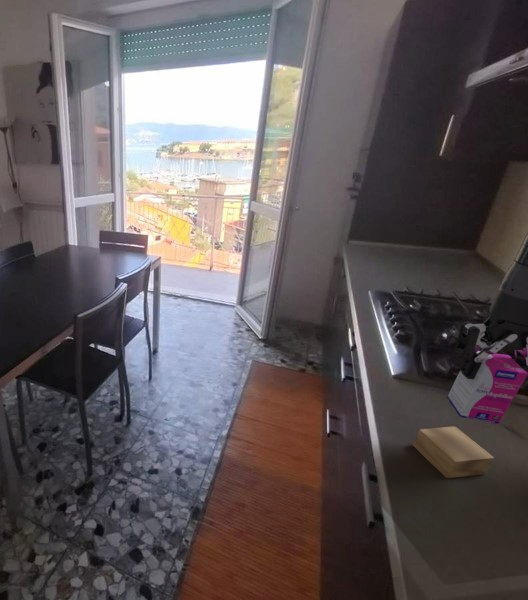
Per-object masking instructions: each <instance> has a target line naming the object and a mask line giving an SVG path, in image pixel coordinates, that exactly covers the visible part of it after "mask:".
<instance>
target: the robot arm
mask: <svg viewBox="0 0 528 600" xmlns="http://www.w3.org/2000/svg"><path fill="white" fill-rule="evenodd" d="M488 310H489V311H488V313H489V316H488V318H487V319H486V320H484V321H483V322H482V323H471V322H470V321H468V320H467V321H464V322H462V323H461V325H460V329H459V333H458V336H457V340H456V344H455V348H454V349H455V351H456V352H458V353H459V354H460V355H461V357H464V359H463V361H462V363H461V365H460V368H459V372H460V371H461V372H462V374H463V375H464V376H465V377H466V378H467V379H474V378H475V376H476V374H477V372H478V370H479V368H480V366H481V364H482V363H481V361H483V360H484V359H485V358H486V357H488V356H489V355H490V354H498V352H499V351H501V350H508V349H509V350H513V351H514V358H512V359H513V360H514V361H515V362H516V363H517V364H518V365H519V366H521V367H522V368H523V369H524V370H525V371H526V372H527V373H528V232H527V233H526V235H525V237H524V238H523V241H522V243H521V245H520V247H519V248H518V252H517V254H516V256H515V258H514V260H513V261H512V263H511V264H510V266H509V267H508V269H507V271H506V272H505V275H504V276H503V278H502V281H501V283H500V284H499V287H498V289H497V291H496V293H495V296H494V298H493V300H492V302H491V304H490V305H489V309H488ZM487 342H488V343H489V344H490V345H488V344H487ZM478 351H480V352H479V353H478V354H477V352H478Z"/></svg>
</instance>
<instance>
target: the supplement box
mask: <svg viewBox="0 0 528 600" xmlns="http://www.w3.org/2000/svg"><path fill="white" fill-rule="evenodd" d="M480 351H481V350H479V351H478V352H477V354H478V353H479V352H480ZM513 359H514V358H512V356H510V355H509V354H503V353H496V354H490V355H489V356H488V357H486V358H485V359H484V360H483V361H481V363H482V364H481V366H480V368H479V370H478V372H477V374H476V376H475V378H474V379H467V378H466V377H465V376H464V375H463V374H462V372H461V371H460V370H459V372H458V374H457V376H456V378H455V379H454V382H453V384H452V387H451V389H450V390H449V393H448V395H447V396H446V399H447V400H448V402H449V403H450V406H452V408H453V409H454V411H455V412H456V414H457V415H458V417H460V418H463V419H471V420H476V421H482V422H487V423H491V424H495V425H499V424H500V422H501V421H502V419H503V417H504V416H505V413H507V410H508V409H509V407H510V405H511V404H512V402H513V401H514V398H515V397H516V395H517V393H518V392H519V390H520V388H521V387H522V385H523V383H524V382H525V380H526V379H527V377H528V371H527V372H526V371H525V370H524V369H523V368H522V367H521V366H519V365H518V364H517V363H516V362H515V361H514V360H513Z"/></svg>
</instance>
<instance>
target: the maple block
mask: <svg viewBox="0 0 528 600" xmlns="http://www.w3.org/2000/svg"><path fill="white" fill-rule="evenodd" d="M412 447H414V448H415V450H417V451H418V453H420V454H421V455H422V456H423V457H424V458H425V459H426V460H427V461H428V462H429V463H430V464H431V465H432V466H433V467H434V468H435V469H436V470H437V471H438V472H439V473H440V474H441V475H442V476H443V477H445V478H446V479H453V478H462V477H472V476H473V477H474V476H482V475H483V476H484V475H486V473H487V471H488V469H489V468H490V466H491V465H492V463H493V461H494V460H495V456H493V455H492V454H491V453H489V452H488V451H487V450H486V449H484V448H483V447H482V446H480V445H479V444H478V443H477V442H476V441H474V440H473V439H472V438H470V437H469V436H468V435H467V434H466V433H464V432H463V431H462V430H461V429H459V428H458V427H457V426H456V425H454V426H443V427H441V426H440V427H432V428H421V429H419V430H418V432H417V434H416V436H415V438H414V441H413V443H412Z"/></svg>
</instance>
